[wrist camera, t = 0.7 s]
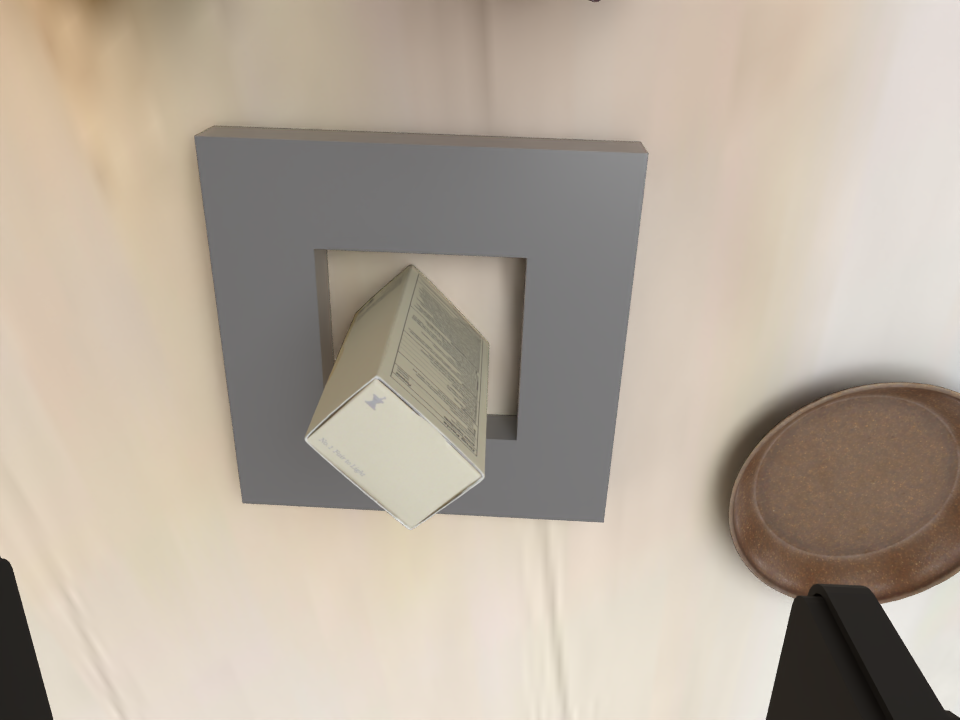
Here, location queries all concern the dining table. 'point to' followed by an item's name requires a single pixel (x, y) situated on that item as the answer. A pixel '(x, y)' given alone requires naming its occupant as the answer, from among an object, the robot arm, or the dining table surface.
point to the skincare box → (407, 402)
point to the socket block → (427, 230)
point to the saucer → (855, 493)
